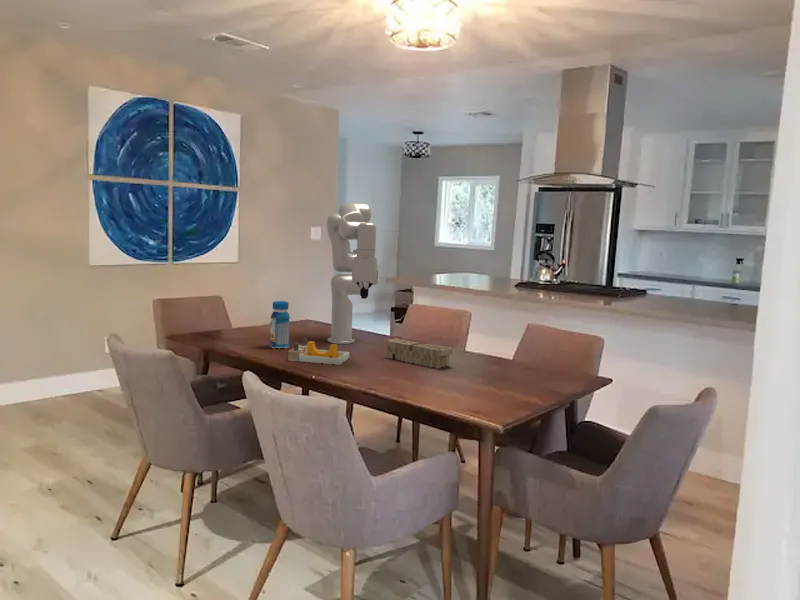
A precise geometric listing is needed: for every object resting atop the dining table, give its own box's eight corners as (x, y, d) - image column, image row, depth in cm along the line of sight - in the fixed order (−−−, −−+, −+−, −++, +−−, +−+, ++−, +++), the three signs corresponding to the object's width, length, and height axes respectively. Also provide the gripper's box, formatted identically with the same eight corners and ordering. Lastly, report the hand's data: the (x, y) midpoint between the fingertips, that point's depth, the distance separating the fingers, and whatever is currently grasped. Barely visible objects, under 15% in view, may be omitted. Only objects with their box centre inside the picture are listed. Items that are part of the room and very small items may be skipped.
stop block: (301, 353, 268) (302, 336, 268) (310, 354, 268) (311, 337, 267) (288, 360, 253) (288, 343, 252) (297, 361, 252) (298, 344, 251)
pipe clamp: (338, 359, 257) (339, 343, 257) (334, 361, 253) (334, 345, 252) (311, 356, 261) (312, 340, 260) (306, 358, 257) (307, 342, 256)
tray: (309, 354, 266) (309, 348, 266) (349, 358, 263) (349, 352, 263) (298, 361, 252) (298, 355, 252) (340, 365, 250) (340, 358, 249)
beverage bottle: (283, 350, 273) (284, 303, 271) (266, 347, 276) (267, 302, 274) (292, 346, 281) (294, 301, 279) (275, 344, 284) (276, 300, 281)
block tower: (383, 360, 268) (441, 370, 250) (384, 340, 267) (441, 348, 249) (395, 357, 274) (452, 367, 256) (395, 338, 273) (452, 346, 256)
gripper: (345, 252, 256) (344, 298, 258) (381, 254, 254) (379, 300, 256) (350, 252, 264) (348, 296, 266) (385, 254, 261) (383, 298, 263)
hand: (364, 298), depth 261 cm, fingers closed
